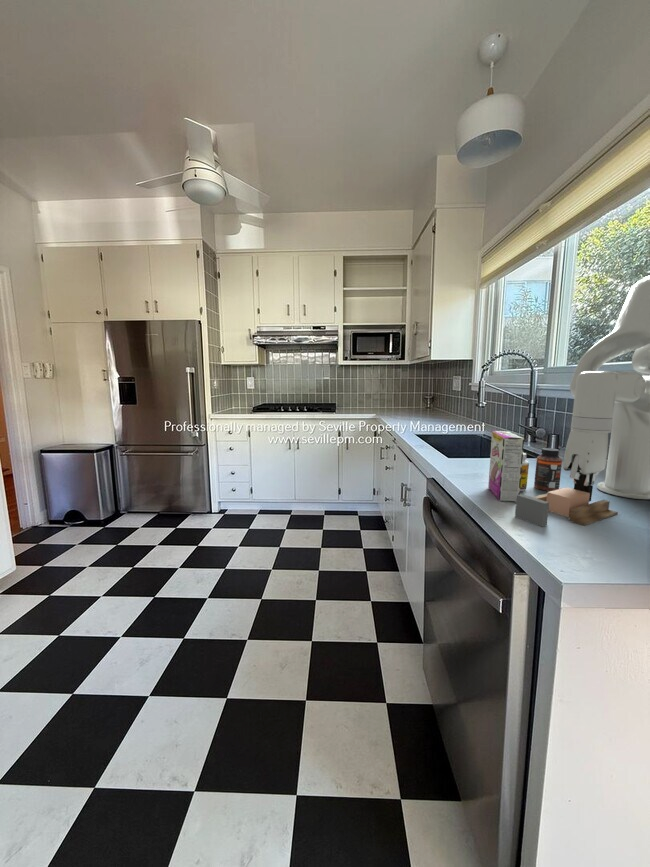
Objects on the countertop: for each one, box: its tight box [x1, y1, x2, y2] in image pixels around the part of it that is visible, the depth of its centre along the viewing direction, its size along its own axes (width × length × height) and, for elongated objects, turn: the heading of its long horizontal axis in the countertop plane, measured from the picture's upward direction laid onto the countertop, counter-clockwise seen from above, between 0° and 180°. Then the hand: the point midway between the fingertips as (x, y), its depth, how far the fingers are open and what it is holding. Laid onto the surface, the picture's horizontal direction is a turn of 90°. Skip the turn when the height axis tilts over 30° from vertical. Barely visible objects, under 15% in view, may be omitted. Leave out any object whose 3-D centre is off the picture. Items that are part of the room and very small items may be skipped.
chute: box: [532, 493, 618, 526], centre depth 81 cm, size 14×13×2 cm
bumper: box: [514, 493, 549, 528], centre depth 74 cm, size 2×6×5 cm, turn 28°
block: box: [546, 487, 590, 518], centre depth 81 cm, size 8×5×4 cm, turn 118°
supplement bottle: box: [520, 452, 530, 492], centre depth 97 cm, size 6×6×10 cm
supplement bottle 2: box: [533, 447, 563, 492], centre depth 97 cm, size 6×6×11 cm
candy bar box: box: [487, 430, 525, 503], centre depth 91 cm, size 11×5×16 cm, turn 169°
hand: (581, 500), depth 84 cm, fingers closed
